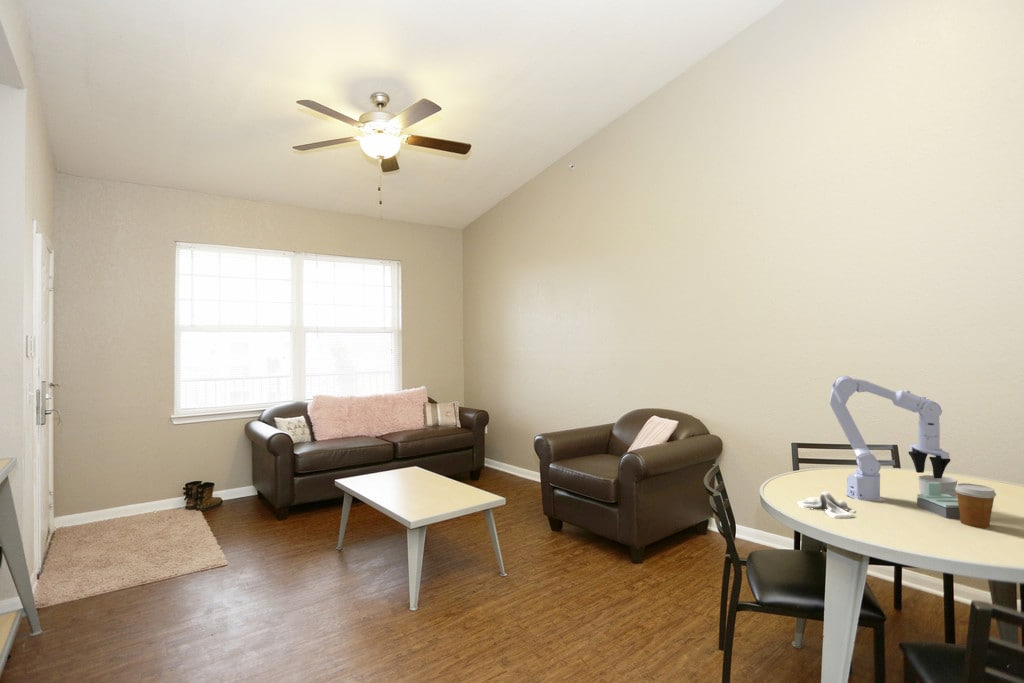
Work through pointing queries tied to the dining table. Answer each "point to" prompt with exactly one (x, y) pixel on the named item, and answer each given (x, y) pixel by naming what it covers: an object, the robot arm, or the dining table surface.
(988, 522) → the disposable coffee cup
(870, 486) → the robot arm
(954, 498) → the lid
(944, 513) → the tub
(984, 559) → the dining table surface
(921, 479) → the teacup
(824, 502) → the cloth
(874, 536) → the dining table surface
